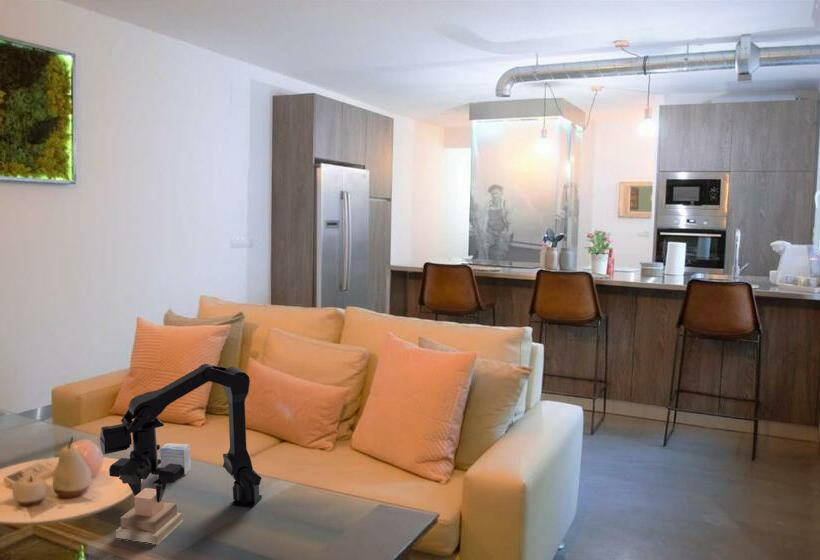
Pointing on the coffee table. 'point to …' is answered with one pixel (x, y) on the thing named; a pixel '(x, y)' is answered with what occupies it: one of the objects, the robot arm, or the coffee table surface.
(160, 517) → the walnut slab
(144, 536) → the birch slab
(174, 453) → the medicine box
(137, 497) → the terracotta block
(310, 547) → the coffee table surface
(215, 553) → the coffee table surface
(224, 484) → the coffee table surface
